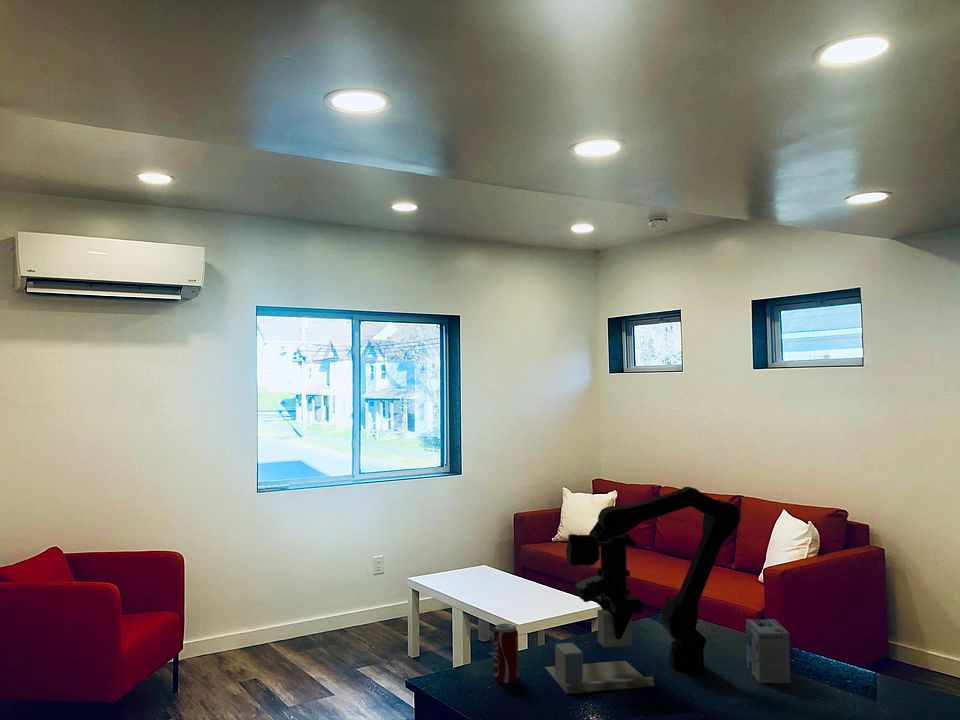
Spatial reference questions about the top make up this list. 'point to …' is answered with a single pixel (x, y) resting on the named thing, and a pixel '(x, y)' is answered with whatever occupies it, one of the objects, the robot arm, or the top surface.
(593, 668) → the beige shallow tray
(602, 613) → the sage carton
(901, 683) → the top surface
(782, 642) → the light bulb box
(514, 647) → the soda can
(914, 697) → the top surface
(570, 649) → the cream carton
